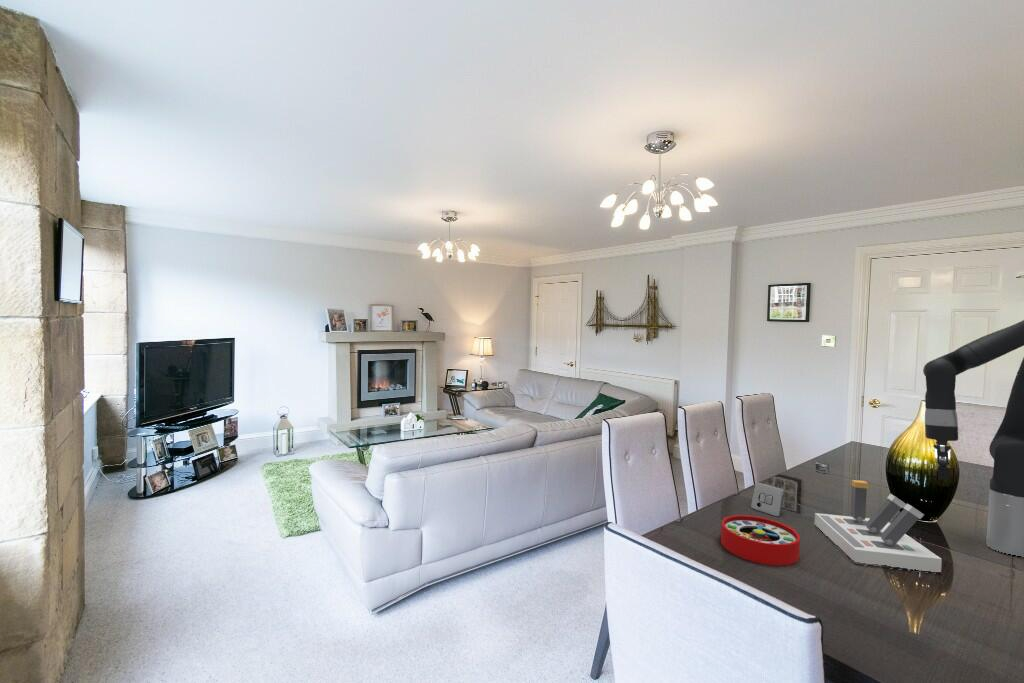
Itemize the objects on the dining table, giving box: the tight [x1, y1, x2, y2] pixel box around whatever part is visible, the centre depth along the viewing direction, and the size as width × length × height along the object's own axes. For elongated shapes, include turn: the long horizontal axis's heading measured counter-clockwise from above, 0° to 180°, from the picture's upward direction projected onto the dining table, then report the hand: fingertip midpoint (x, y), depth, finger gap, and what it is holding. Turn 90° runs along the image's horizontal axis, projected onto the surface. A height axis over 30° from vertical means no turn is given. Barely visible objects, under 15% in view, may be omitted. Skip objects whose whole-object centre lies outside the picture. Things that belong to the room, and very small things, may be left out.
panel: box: [814, 512, 942, 573], centre depth 138 cm, size 20×26×4 cm
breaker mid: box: [866, 493, 907, 533], centre depth 137 cm, size 3×3×12 cm
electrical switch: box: [750, 482, 785, 517], centre depth 164 cm, size 9×5×9 cm, turn 35°
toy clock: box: [720, 514, 801, 566], centre depth 135 cm, size 20×6×20 cm
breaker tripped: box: [850, 479, 869, 522], centre depth 146 cm, size 3×3×12 cm
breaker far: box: [880, 503, 925, 545], centre depth 129 cm, size 3×3×12 cm
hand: (943, 477), depth 144 cm, fingers open, 8 cm apart
